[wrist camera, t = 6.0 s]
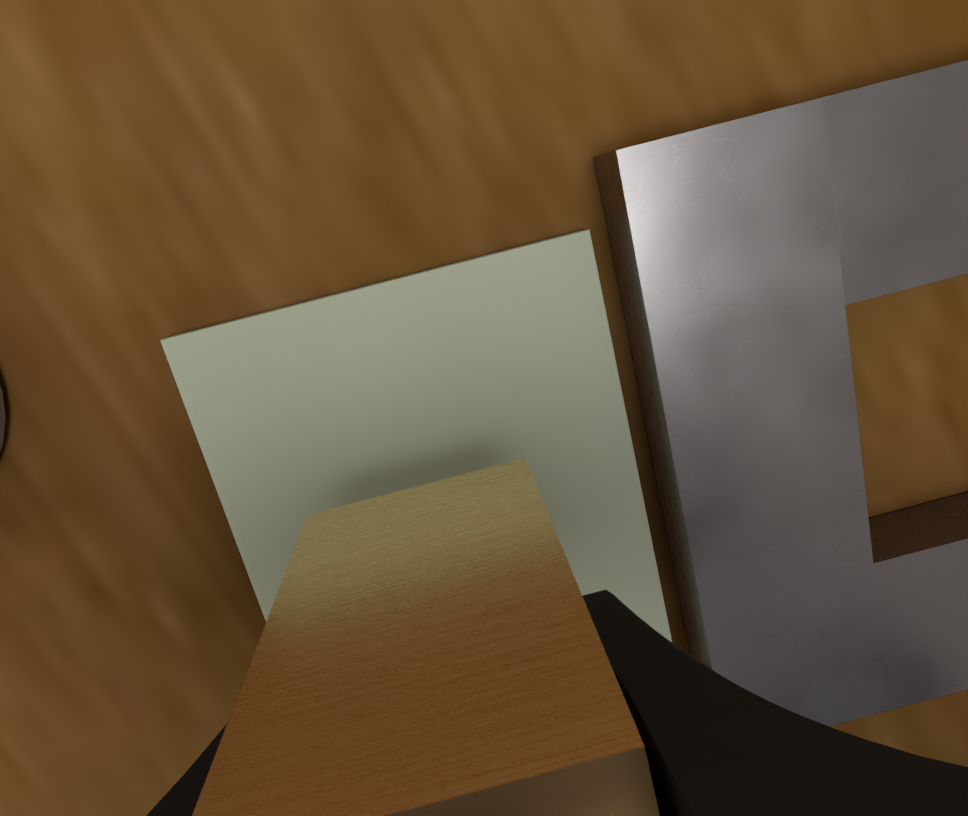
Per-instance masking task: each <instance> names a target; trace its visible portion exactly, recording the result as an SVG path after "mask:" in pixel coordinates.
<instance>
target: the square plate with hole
mask: <svg viewBox="0 0 968 816" xmlns="http://www.w3.org/2000/svg"><path fill="white" fill-rule="evenodd" d="M594 163H595V168H596V173H597V178H598V183H599V188H600V194H601V199H602V204H603V209H604V214H605V219H606V224H607V230H608V235H609V240H610V245H611V250H612V255H613V260H614V266H615V271H616V276H617V281H618V286H619V291H620V297H621V302H622V307H623V312H624V317H625V322H626V327H627V333H628V338H629V343H630V348H631V353H632V358H633V363H634V369H635V374H636V379H637V384H638V389H639V394H640V400H641V405H642V410H643V415H644V420H645V425H646V430H647V436H648V441H649V446H650V451H651V456H652V461H653V466H654V472H655V477H656V482H657V487H658V492H659V497H660V502H661V508H662V513H663V518H664V523H665V528H666V533H667V539H668V544H669V549H670V554H671V559H672V564H673V569H674V575H675V580H676V585H677V590H678V595H679V600H680V605H681V611H682V616H683V621H684V626H685V631H686V636H687V642H688V647H689V652H690V656H692V657H693V658H695V659H696V660H698V661H699V662H701V663H702V664H704V665H706V666H707V667H709V668H710V669H712V670H714V671H715V672H717V673H718V674H720V675H721V676H723V677H725V678H726V679H728V680H730V681H732V682H733V683H735V684H737V685H739V686H740V687H742V688H744V689H746V690H748V691H750V692H752V693H754V694H756V695H758V696H760V697H762V698H764V699H766V700H768V701H770V702H772V703H774V704H776V705H778V706H780V707H783V708H785V709H787V710H789V711H792V712H794V713H796V714H799V715H801V716H804V717H806V718H809V719H811V720H814V721H816V722H819V723H821V724H824V725H826V726H832V725H836V724H840V723H844V722H847V721H851V720H855V719H859V718H862V717H866V716H870V715H874V714H877V713H881V712H885V711H888V710H892V709H896V708H900V707H903V706H907V705H911V704H915V703H918V702H922V701H926V700H930V699H933V698H937V697H941V696H944V695H948V694H952V693H956V692H959V691H963V690H967V689H968V492H966V493H962V494H958V495H955V496H951V497H947V498H943V499H940V500H936V501H932V502H928V503H924V504H921V505H917V506H913V507H909V508H905V509H902V510H898V511H894V512H890V513H887V514H883V515H879V516H875V517H871V518H868V509H867V500H866V490H865V481H864V472H863V463H862V454H861V445H860V436H859V426H858V417H857V408H856V399H855V390H854V381H853V371H852V362H851V353H850V344H849V335H848V326H847V316H846V307H845V305H848V304H851V303H855V302H859V301H863V300H867V299H871V298H874V297H878V296H882V295H886V294H890V293H894V292H897V291H901V290H905V289H909V288H913V287H917V286H920V285H924V284H928V283H932V282H936V281H940V280H944V279H947V278H951V277H955V276H959V275H963V274H967V273H968V60H966V61H962V62H958V63H954V64H950V65H946V66H943V67H939V68H935V69H931V70H927V71H923V72H919V73H915V74H911V75H907V76H904V77H900V78H896V79H892V80H888V81H884V82H880V83H876V84H872V85H869V86H865V87H861V88H857V89H853V90H849V91H845V92H841V93H837V94H833V95H830V96H826V97H822V98H818V99H814V100H810V101H806V102H802V103H798V104H795V105H791V106H787V107H783V108H779V109H775V110H771V111H767V112H763V113H759V114H756V115H752V116H748V117H744V118H740V119H736V120H732V121H728V122H724V123H721V124H717V125H713V126H709V127H705V128H701V129H697V130H693V131H689V132H685V133H682V134H678V135H674V136H670V137H666V138H662V139H658V140H654V141H650V142H647V143H643V144H639V145H635V146H631V147H627V148H623V149H619V150H615V151H612V152H609V153H606V154H603V155H600V156H597V157H594Z"/></svg>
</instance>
